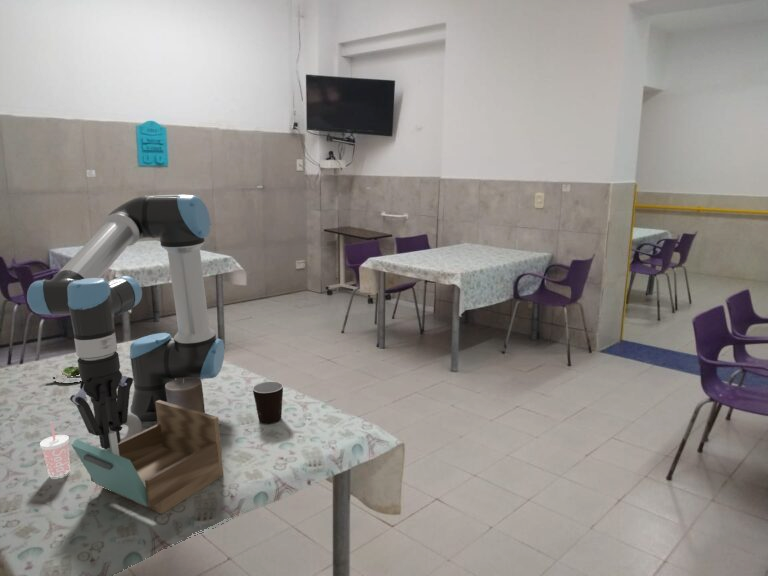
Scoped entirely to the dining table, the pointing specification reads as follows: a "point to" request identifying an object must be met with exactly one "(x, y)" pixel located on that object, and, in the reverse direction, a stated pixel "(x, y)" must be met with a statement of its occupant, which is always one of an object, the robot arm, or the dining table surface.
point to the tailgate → (111, 471)
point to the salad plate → (71, 372)
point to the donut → (132, 426)
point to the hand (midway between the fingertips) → (113, 459)
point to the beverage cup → (56, 454)
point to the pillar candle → (186, 393)
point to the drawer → (175, 455)
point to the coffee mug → (268, 401)
